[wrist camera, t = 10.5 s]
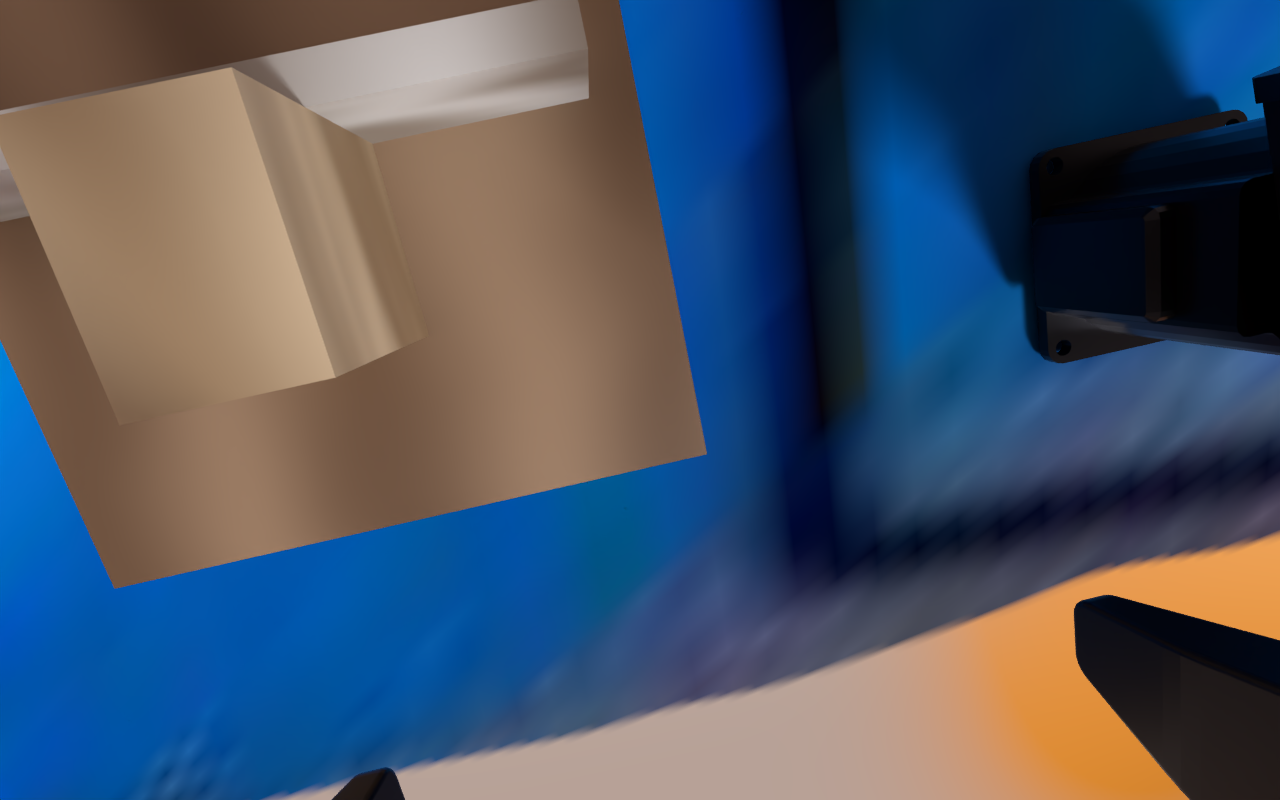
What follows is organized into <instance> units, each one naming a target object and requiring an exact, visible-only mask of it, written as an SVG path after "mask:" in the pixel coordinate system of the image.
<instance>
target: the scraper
mask: <svg viewBox="0 0 1280 800" xmlns="http://www.w3.org/2000/svg"><path fill="white" fill-rule="evenodd" d="M588 98H589V76H588V46H587V41H586V36H585V31H584V27H583V22H582V17H581V12H580V8H579V3H578V0H537V1H532V2H527V3H522V4H517V5H512V6H507V7H503V8H498V9H493V10H488V11H483V12H478V13H473V14H468V15H464V16H459V17H454V18H449V19H444V20H439V21H434V22H430V23H425V24H420V25H415V26H410V27H405V28H400V29H395V30H391V31H386V32H381V33H376V34H371V35H366V36H361V37H356V38H352V39H347V40H342V41H337V42H332V43H327V44H322V45H317V46H313V47H308V48H303V49H298V50H293V51H288V52H283V53H278V54H274V55H269V56H264V57H259V58H254V59H249V60H244V61H239V62H235V63H230V64H225V65H220V66H215V67H210V68H205V69H200V70H196V71H191V72H186V73H181V74H176V75H171V76H166V77H161V78H157V79H152V80H147V81H142V82H137V83H132V84H127V85H122V86H118V87H113V88H108V89H103V90H98V91H93V92H88V93H83V94H79V95H74V96H69V97H64V98H59V99H54V100H49V101H44V102H40V103H35V104H30V105H25V106H20V107H15V108H10V109H5V110H1V111H0V222H3V221H8V220H12V219H17V218H22V217H27V216H30V218H31V220H32V222H33V225H34V227H35V229H36V232H37V234H38V236H39V239H40V241H41V243H42V246H43V248H44V250H45V253H46V255H47V257H48V260H49V262H50V264H51V267H52V269H53V271H54V274H55V276H56V278H57V281H58V283H59V285H60V288H61V290H62V292H63V295H64V297H65V299H66V302H67V304H68V306H69V309H70V311H71V313H72V316H73V318H74V320H75V323H76V325H77V327H78V330H79V332H80V334H81V337H82V339H83V341H84V344H85V346H86V348H87V351H88V353H89V355H90V358H91V360H92V362H93V364H94V367H95V369H96V371H97V374H98V376H99V378H100V381H101V383H102V385H103V388H104V390H105V392H106V395H107V397H108V399H109V402H110V404H111V406H112V409H113V411H114V413H115V416H116V418H117V420H118V423H119V425H123V424H128V423H132V422H137V421H141V420H146V419H150V418H155V417H159V416H164V415H168V414H173V413H177V412H182V411H186V410H191V409H196V408H200V407H205V406H209V405H214V404H218V403H223V402H227V401H232V400H236V399H241V398H245V397H250V396H254V395H259V394H263V393H268V392H273V391H277V390H282V389H286V388H291V387H295V386H300V385H304V384H309V383H313V382H318V381H322V380H327V379H331V378H336V377H338V376H340V375H342V374H345V373H347V372H349V371H351V370H354V369H356V368H358V367H360V366H362V365H365V364H367V363H369V362H371V361H374V360H376V359H378V358H380V357H383V356H385V355H387V354H389V353H391V352H394V351H396V350H398V349H400V348H403V347H405V346H407V345H409V344H411V343H414V342H416V341H418V340H420V339H423V338H425V337H427V336H429V334H428V331H427V327H426V324H425V321H424V317H423V314H422V310H421V307H420V304H419V300H418V297H417V293H416V290H415V287H414V283H413V280H412V276H411V273H410V270H409V266H408V263H407V259H406V256H405V253H404V249H403V246H402V242H401V239H400V236H399V232H398V229H397V225H396V222H395V219H394V215H393V212H392V208H391V205H390V202H389V198H388V195H387V191H386V188H385V185H384V181H383V178H382V174H381V171H380V168H379V164H378V161H377V157H376V154H375V151H374V147H373V144H374V143H379V142H383V141H388V140H393V139H398V138H402V137H407V136H412V135H417V134H421V133H426V132H431V131H436V130H440V129H445V128H450V127H455V126H460V125H464V124H469V123H474V122H479V121H483V120H488V119H493V118H498V117H502V116H507V115H512V114H517V113H521V112H526V111H531V110H536V109H540V108H545V107H550V106H555V105H559V104H564V103H569V102H574V101H578V100H583V99H588Z"/></svg>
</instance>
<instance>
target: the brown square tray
mask: <svg viewBox="0 0 1280 800" xmlns="http://www.w3.org/2000/svg"><path fill="white" fill-rule="evenodd" d="M532 1H537V0H0V111H1V110H5V109H10V108H15V107H20V106H25V105H30V104H35V103H40V102H44V101H49V100H54V99H59V98H64V97H69V96H74V95H79V94H83V93H88V92H93V91H98V90H103V89H108V88H113V87H118V86H122V85H127V84H132V83H137V82H142V81H147V80H152V79H157V78H161V77H166V76H171V75H176V74H181V73H186V72H191V71H196V70H200V69H205V68H210V67H215V66H220V65H225V64H230V63H235V62H239V61H244V60H249V59H254V58H259V57H264V56H269V55H274V54H278V53H283V52H288V51H293V50H298V49H303V48H308V47H313V46H317V45H322V44H327V43H332V42H337V41H342V40H347V39H352V38H356V37H361V36H366V35H371V34H376V33H381V32H386V31H391V30H395V29H400V28H405V27H410V26H415V25H420V24H425V23H430V22H434V21H439V20H444V19H449V18H454V17H459V16H464V15H468V14H473V13H478V12H483V11H488V10H493V9H498V8H503V7H507V6H512V5H517V4H522V3H527V2H532ZM578 3H579V8H580V12H581V17H582V22H583V27H584V31H585V36H586V41H587V46H588V76H589V98H588V99H583V100H578V101H574V102H569V103H564V104H559V105H555V106H550V107H545V108H540V109H536V110H531V111H526V112H521V113H517V114H512V115H507V116H502V117H498V118H493V119H488V120H483V121H479V122H474V123H469V124H464V125H460V126H455V127H450V128H445V129H440V130H436V131H431V132H426V133H421V134H417V135H412V136H407V137H402V138H398V139H393V140H388V141H383V142H379V143H374V144H373V147H374V151H375V154H376V157H377V161H378V164H379V168H380V171H381V174H382V178H383V181H384V185H385V188H386V191H387V195H388V198H389V202H390V205H391V208H392V212H393V215H394V219H395V222H396V225H397V229H398V232H399V236H400V239H401V242H402V246H403V249H404V253H405V256H406V259H407V263H408V266H409V270H410V273H411V276H412V280H413V283H414V287H415V290H416V293H417V297H418V300H419V304H420V307H421V310H422V314H423V317H424V321H425V324H426V327H427V331H428V334H429V336H427V337H425V338H423V339H420V340H418V341H416V342H414V343H411V344H409V345H407V346H405V347H403V348H400V349H398V350H396V351H394V352H391V353H389V354H387V355H385V356H383V357H380V358H378V359H376V360H374V361H371V362H369V363H367V364H365V365H362V366H360V367H358V368H356V369H354V370H351V371H349V372H347V373H345V374H342V375H340V376H338V377H336V378H331V379H327V380H322V381H318V382H313V383H309V384H304V385H300V386H295V387H291V388H286V389H282V390H277V391H273V392H268V393H263V394H259V395H254V396H250V397H245V398H241V399H236V400H232V401H227V402H223V403H218V404H214V405H209V406H205V407H200V408H196V409H191V410H186V411H182V412H177V413H173V414H168V415H164V416H159V417H155V418H150V419H146V420H141V421H137V422H132V423H128V424H123V425H119V423H118V420H117V418H116V416H115V413H114V411H113V409H112V406H111V404H110V402H109V399H108V397H107V395H106V392H105V390H104V388H103V385H102V383H101V381H100V378H99V376H98V374H97V371H96V369H95V367H94V364H93V362H92V360H91V358H90V355H89V353H88V351H87V348H86V346H85V344H84V341H83V339H82V337H81V334H80V332H79V330H78V327H77V325H76V323H75V320H74V318H73V316H72V313H71V311H70V309H69V306H68V304H67V302H66V299H65V297H64V295H63V292H62V290H61V288H60V285H59V283H58V281H57V278H56V276H55V274H54V271H53V269H52V267H51V264H50V262H49V260H48V257H47V255H46V253H45V250H44V248H43V246H42V243H41V241H40V239H39V236H38V234H37V232H36V229H35V227H34V225H33V222H32V220H31V218H30V216H27V217H22V218H17V219H12V220H8V221H3V222H0V340H1V342H2V345H3V347H4V349H5V351H6V353H7V356H8V358H9V360H10V362H11V364H12V366H13V369H14V371H15V373H16V375H17V377H18V379H19V382H20V384H21V386H22V388H23V390H24V393H25V395H26V397H27V399H28V401H29V403H30V406H31V408H32V410H33V412H34V414H35V416H36V419H37V421H38V423H39V425H40V427H41V429H42V432H43V434H44V436H45V438H46V440H47V443H48V445H49V447H50V449H51V451H52V453H53V456H54V458H55V460H56V462H57V464H58V466H59V469H60V471H61V473H62V475H63V477H64V480H65V482H66V484H67V486H68V488H69V490H70V493H71V495H72V497H73V499H74V501H75V503H76V506H77V508H78V510H79V512H80V514H81V516H82V519H83V521H84V523H85V525H86V527H87V530H88V532H89V534H90V536H91V538H92V540H93V543H94V545H95V547H96V549H97V551H98V553H99V556H100V558H101V560H102V562H103V564H104V567H105V569H106V571H107V573H108V575H109V577H110V580H111V582H112V584H113V586H114V588H120V587H124V586H128V585H133V584H137V583H142V582H146V581H150V580H155V579H159V578H164V577H168V576H172V575H177V574H181V573H186V572H190V571H194V570H199V569H203V568H208V567H212V566H216V565H221V564H225V563H230V562H234V561H238V560H243V559H247V558H252V557H256V556H260V555H265V554H269V553H274V552H278V551H282V550H287V549H291V548H296V547H300V546H304V545H309V544H313V543H318V542H322V541H326V540H331V539H335V538H340V537H344V536H349V535H353V534H357V533H362V532H366V531H371V530H375V529H379V528H384V527H388V526H393V525H397V524H401V523H406V522H410V521H415V520H419V519H423V518H428V517H432V516H437V515H441V514H445V513H450V512H454V511H459V510H463V509H467V508H472V507H476V506H481V505H485V504H489V503H494V502H498V501H503V500H507V499H511V498H516V497H520V496H525V495H529V494H533V493H538V492H542V491H547V490H551V489H555V488H560V487H564V486H569V485H573V484H577V483H582V482H586V481H591V480H595V479H599V478H604V477H608V476H613V475H617V474H621V473H626V472H630V471H635V470H639V469H643V468H648V467H652V466H657V465H661V464H665V463H670V462H674V461H679V460H683V459H687V458H692V457H696V456H701V455H705V454H707V452H706V447H705V442H704V437H703V431H702V426H701V421H700V416H699V411H698V406H697V401H696V395H695V390H694V385H693V380H692V375H691V370H690V365H689V359H688V354H687V349H686V344H685V339H684V334H683V329H682V323H681V318H680V313H679V308H678V303H677V298H676V293H675V287H674V282H673V277H672V272H671V267H670V262H669V257H668V251H667V246H666V241H665V236H664V231H663V226H662V221H661V215H660V210H659V205H658V200H657V195H656V190H655V185H654V179H653V174H652V169H651V164H650V159H649V154H648V149H647V143H646V138H645V133H644V128H643V123H642V118H641V113H640V107H639V102H638V97H637V92H636V87H635V82H634V77H633V71H632V66H631V61H630V56H629V51H628V46H627V41H626V36H625V30H624V25H623V20H622V15H621V10H620V5H619V0H578Z"/></svg>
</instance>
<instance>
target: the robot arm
mask: <svg viewBox="0 0 1280 800" xmlns="http://www.w3.org/2000/svg"><path fill="white" fill-rule="evenodd" d="M1252 80H1253V87H1254V94H1255V101H1256V104H1258V103H1263V108H1264V115H1265V117H1264V118H1259V119H1255V120H1250V121H1247V117H1246V115H1245V114H1244V113H1243V112H1241V111H1240V110H1230V111H1225V112H1221V113H1216V114H1211V115H1207V116H1202V117H1197V118H1193V119H1188V120H1184V121H1179V122H1174V123H1170V124H1165V125H1160V126H1156V127H1151V128H1147V129H1142V130H1137V131H1133V132H1128V133H1123V134H1119V135H1114V136H1110V137H1105V138H1100V139H1096V140H1091V141H1086V142H1082V143H1077V144H1073V145H1068V146H1063V147H1059V148H1054V149H1050V150H1046V151H1043V152H1041V153H1038V154H1037V155H1036V156H1035V157H1034V158H1033V160H1032V162H1031V164H1030V169H1029V177H1030V194H1031V212H1032V229H1031V231H1032V249H1033V266H1034V284H1035V301H1036V305H1037V317H1038V334H1039V350H1040V354H1041V356H1042V357H1043V358H1044V359H1045V360H1048V361H1051V362H1055V363H1067V362H1071V361H1075V360H1080V359H1084V358H1089V357H1093V356H1098V355H1102V354H1106V353H1111V352H1115V351H1120V350H1124V349H1128V348H1133V347H1137V346H1142V345H1146V344H1150V343H1155V342H1159V341H1164V340H1171V341H1178V342H1185V343H1193V344H1200V345H1208V346H1215V347H1223V348H1230V349H1237V350H1245V351H1252V352H1260V353H1267V354H1275V355H1280V66H1279V67H1276V68H1274V69H1272V70H1269V71H1267V72H1264V73H1262V74H1260V75H1257V76H1255V77H1253V78H1252ZM1225 124H1226V126H1225ZM1049 160H1050V161H1051V162H1052V164H1053V171H1052V173H1051V174H1049V173H1048V171H1047V163H1048V162H1049ZM1060 341H1061V343H1062V347H1061V349H1060V351H1059V352H1056V346H1057V344H1058V343H1059V342H1060ZM1074 624H1075V646H1076V657H1077V661H1078V664H1079V666H1080V668H1081V670H1082V671H1083V673H1084V675H1085V676H1086V677H1087V679H1088V680H1089V681H1090V682H1091V683H1092V685H1093V686H1094V687H1095V688H1096V690H1097V691H1098V692H1099V693H1100V694H1101V696H1102V697H1103V698H1104V699H1105V700H1106V702H1107V703H1108V704H1109V705H1110V706H1111V708H1112V709H1113V710H1114V711H1115V712H1116V714H1117V715H1118V716H1119V717H1120V718H1121V720H1122V721H1123V722H1124V723H1125V724H1126V726H1127V727H1128V728H1129V729H1130V731H1131V732H1132V733H1133V734H1134V735H1135V736H1136V738H1137V739H1138V740H1139V741H1140V743H1141V744H1142V745H1143V746H1144V747H1145V749H1146V750H1147V751H1148V752H1149V753H1150V755H1151V756H1152V757H1153V758H1154V759H1155V761H1156V762H1157V763H1158V764H1159V765H1160V767H1161V768H1162V769H1163V770H1164V771H1165V773H1166V774H1167V775H1168V776H1169V777H1170V778H1171V779H1172V781H1173V782H1174V783H1175V784H1176V785H1177V786H1178V787H1179V789H1180V790H1181V791H1182V792H1183V793H1184V794H1185V795H1186V796H1187V797H1188V798H1189V799H1190V800H1280V640H1276V639H1273V638H1269V637H1265V636H1261V635H1258V634H1254V633H1250V632H1247V631H1243V630H1239V629H1236V628H1232V627H1228V626H1224V625H1221V624H1217V623H1213V622H1209V621H1206V620H1202V619H1199V618H1195V617H1191V616H1187V615H1184V614H1180V613H1176V612H1173V611H1169V610H1165V609H1161V608H1158V607H1154V606H1151V605H1147V604H1143V603H1139V602H1136V601H1132V600H1128V599H1124V598H1120V597H1117V596H1113V595H1103V596H1098V597H1094V598H1090V599H1086V600H1082V601H1080V602H1079V603H1077V604H1076V606H1075V608H1074ZM332 800H405V798H404V795H403V793H402V790H401V787H400V785H399V782H398V779H397V776H396V775H395V773H394V771H393V770H392V769H390V768H387V767H386V768H380V769H376V770H372V771H368V772H364V773H361V774H358V775H356V776H355V777H354V778H353V779H352V780H351V781H350V782H349V783H348V784H347V785H346V786H345V787H344V788H343V789H342V790H341V791H340V792H339V793H338V794H337V795H336V796H335V797H334V798H333V799H332Z"/></svg>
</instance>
